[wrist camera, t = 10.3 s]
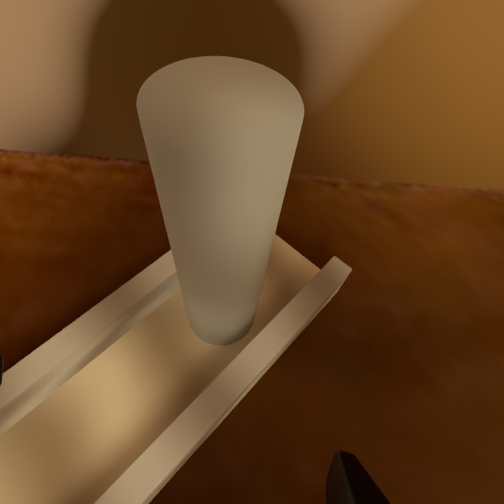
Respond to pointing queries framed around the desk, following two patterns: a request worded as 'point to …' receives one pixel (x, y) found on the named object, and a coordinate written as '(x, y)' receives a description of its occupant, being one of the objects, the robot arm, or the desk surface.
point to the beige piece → (220, 180)
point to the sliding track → (141, 385)
